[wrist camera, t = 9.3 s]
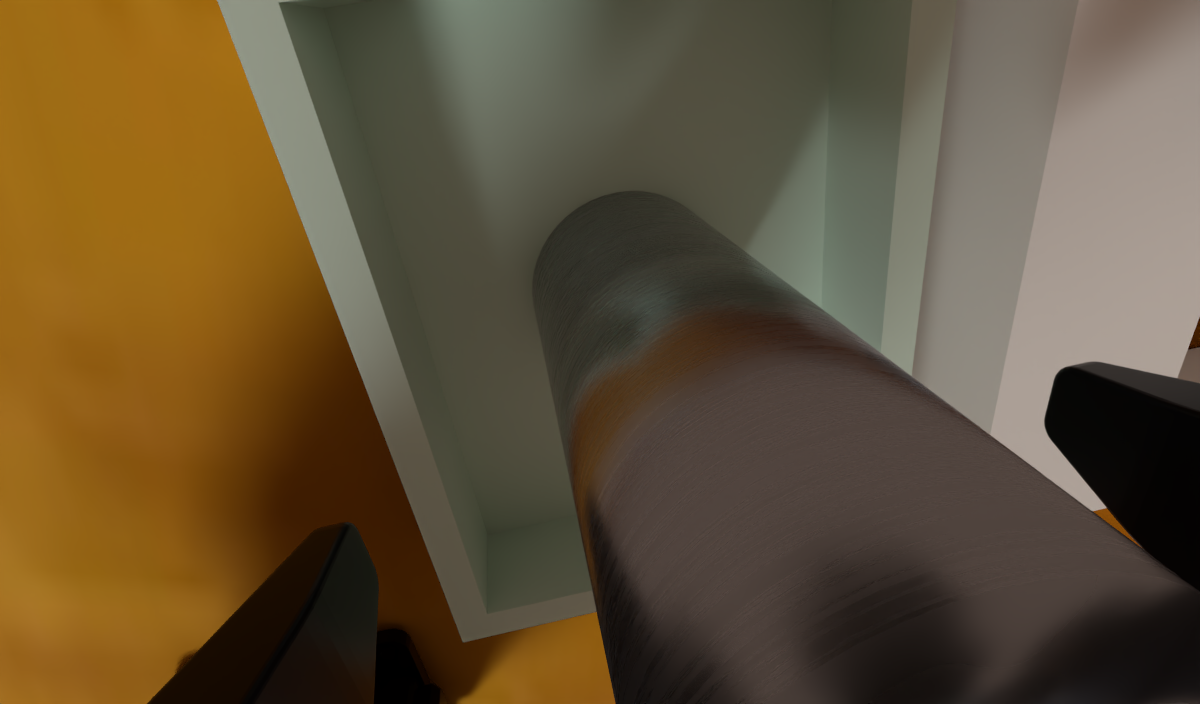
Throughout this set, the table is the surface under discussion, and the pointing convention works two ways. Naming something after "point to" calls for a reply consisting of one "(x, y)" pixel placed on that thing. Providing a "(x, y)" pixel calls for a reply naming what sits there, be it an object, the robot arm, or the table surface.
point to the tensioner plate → (1062, 209)
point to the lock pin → (816, 501)
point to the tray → (558, 187)
